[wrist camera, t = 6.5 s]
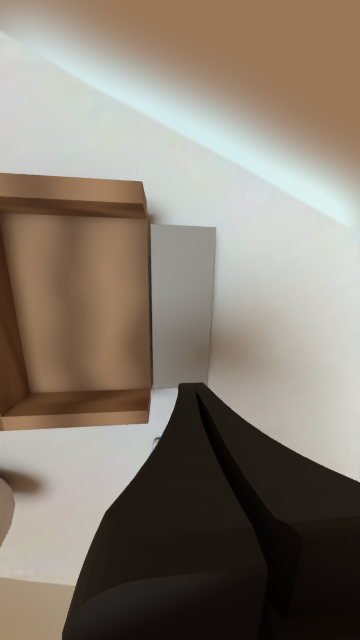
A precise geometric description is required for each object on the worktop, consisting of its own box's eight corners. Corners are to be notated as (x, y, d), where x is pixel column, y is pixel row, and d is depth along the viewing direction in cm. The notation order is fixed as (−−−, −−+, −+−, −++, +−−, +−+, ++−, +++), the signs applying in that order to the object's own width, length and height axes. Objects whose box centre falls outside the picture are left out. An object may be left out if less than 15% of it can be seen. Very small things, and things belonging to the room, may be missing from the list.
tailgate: (151, 230, 15) (209, 233, 16) (153, 378, 18) (202, 376, 19) (150, 223, 13) (216, 227, 14) (153, 388, 16) (207, 385, 17)
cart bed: (148, 201, 16) (141, 166, 11) (152, 394, 20) (148, 431, 15) (-2, 193, 15) (-83, 151, 10) (34, 398, 19) (-11, 440, 14)
